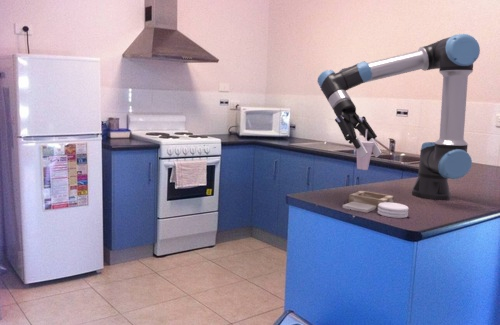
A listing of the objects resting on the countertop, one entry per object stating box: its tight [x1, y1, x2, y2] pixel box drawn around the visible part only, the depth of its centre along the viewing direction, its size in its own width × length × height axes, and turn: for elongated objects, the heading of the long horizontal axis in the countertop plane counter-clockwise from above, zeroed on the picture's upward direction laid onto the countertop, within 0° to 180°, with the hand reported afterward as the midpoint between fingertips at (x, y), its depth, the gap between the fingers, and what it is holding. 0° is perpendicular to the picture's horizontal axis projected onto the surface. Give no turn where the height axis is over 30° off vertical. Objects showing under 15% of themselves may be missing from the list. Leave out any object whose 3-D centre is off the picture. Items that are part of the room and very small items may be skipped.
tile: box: [342, 202, 377, 213], centre depth 163 cm, size 9×9×1 cm
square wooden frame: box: [348, 190, 395, 209], centre depth 174 cm, size 13×13×3 cm
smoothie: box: [355, 129, 374, 171], centre depth 161 cm, size 6×6×14 cm
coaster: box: [377, 202, 410, 219], centre depth 157 cm, size 10×10×4 cm
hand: (371, 155), depth 158 cm, fingers closed on smoothie, 6 cm apart
